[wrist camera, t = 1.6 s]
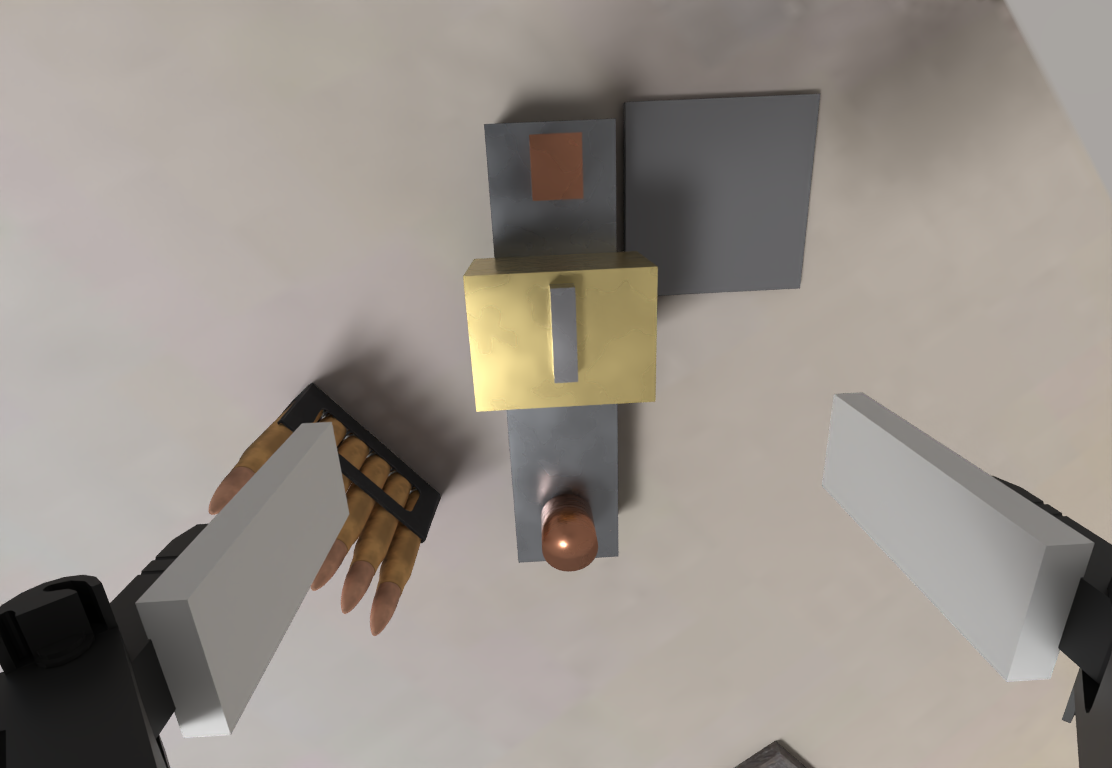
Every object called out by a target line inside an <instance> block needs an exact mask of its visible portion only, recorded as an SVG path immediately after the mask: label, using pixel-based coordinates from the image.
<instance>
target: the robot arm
mask: <svg viewBox="0 0 1112 768" xmlns="http://www.w3.org/2000/svg"><path fill="white" fill-rule="evenodd" d="M822 487H823V488H824V489H825V490H826V491H827V492H828V493H829V494H830V495H831V496H832V497H833V498H834V499H835V500H836V501H837V503H838V504H839V505H840V506H841V507H842V508H843V509H844V510H845V511H846V512H847V513H848V514H849V515H850V516H851V517H852V518H853V519H854V521H855V522H856V523H857V524H858V525H859V526H860V527H861V528H862V529H863V530H864V531H865V532H866V533H867V534H868V535H869V536H870V538H871V539H872V540H873V541H874V542H875V543H876V544H877V545H878V546H879V547H880V548H881V549H882V550H883V551H884V552H885V553H886V554H887V556H888V557H889V558H890V559H891V560H892V561H893V562H894V563H895V564H896V565H897V566H898V567H899V568H900V569H901V570H902V571H903V573H904V574H905V575H906V576H907V577H908V578H909V579H910V580H911V581H912V582H913V583H914V584H915V585H916V586H917V587H918V588H919V589H920V591H921V592H922V593H923V594H924V595H925V596H926V597H927V598H928V599H929V600H930V601H931V602H932V603H933V604H934V605H935V606H936V608H937V609H938V610H939V611H940V612H941V613H942V614H943V615H944V616H945V617H946V618H947V619H948V620H949V621H950V622H951V623H952V624H953V626H954V627H955V628H956V629H957V630H958V631H959V632H960V633H961V634H962V635H963V636H964V637H965V638H966V639H967V640H968V641H969V643H970V644H971V645H972V646H973V647H974V648H975V649H976V650H977V651H978V652H979V653H980V654H981V655H982V656H983V657H984V658H985V659H986V661H987V662H988V663H989V664H990V665H991V666H992V667H993V668H994V669H995V670H996V671H997V672H998V673H999V674H1000V675H1001V676H1002V678H1003V679H1004V680H1005V681H1006V682H1012V681H1027V680H1041V679H1050V678H1051V675H1052V672H1053V669H1054V666H1055V663H1056V660H1057V657H1058V654H1059V651H1060V650H1061V651H1062V652H1063V653H1064V654H1065V655H1067V656H1068V657H1069V658H1070V659H1071V660H1072V661H1073V662H1074V663H1076V664H1077V665H1078V666H1079V667H1080V669H1079V672H1078V675H1077V677H1076V680H1075V683H1074V686H1073V689H1072V692H1071V695H1070V698H1069V701H1068V703H1067V706H1066V709H1065V712H1064V715H1063V718H1062V720H1063V721H1066V722H1068V723H1071V721H1072V719H1073V717H1074V715H1076V727H1077V741H1078V756H1079V768H1112V545H1111V544H1110V543H1108V542H1107V541H1105V540H1104V539H1102V538H1100V537H1099V536H1097V535H1096V534H1094V533H1092V532H1091V531H1089V530H1088V529H1086V528H1085V527H1083V526H1081V525H1080V524H1078V523H1077V522H1075V521H1073V520H1072V519H1070V518H1069V517H1067V516H1062V513H1061V512H1059V511H1058V510H1056V509H1054V508H1053V507H1051V506H1050V505H1048V504H1044V503H1043V501H1042V500H1040V499H1039V498H1037V497H1036V496H1034V495H1032V494H1031V493H1029V492H1028V491H1026V490H1024V489H1023V488H1021V487H1019V486H1017V485H1014V484H1012V483H1009V482H1007V481H1004V480H1002V479H999V478H997V477H994V476H991V475H989V474H988V473H986V472H984V471H983V470H981V469H980V468H978V467H977V466H975V465H974V464H972V463H971V462H969V461H968V460H966V459H964V458H963V457H961V456H960V455H958V454H957V453H955V452H954V451H952V450H951V449H949V448H947V447H946V446H944V445H943V444H941V443H940V442H938V441H937V440H935V439H934V438H932V437H931V436H929V435H927V434H926V433H924V432H923V431H921V430H920V429H918V428H917V427H915V426H914V425H912V424H910V423H909V422H907V421H906V420H904V419H903V418H901V417H900V416H898V415H897V414H895V413H894V412H892V411H890V410H889V409H887V408H886V407H884V406H883V405H881V404H880V403H878V402H877V401H875V400H873V399H872V398H870V397H869V396H867V395H866V394H864V393H863V392H861V393H843V394H834V397H833V405H832V413H831V420H830V428H829V436H828V443H827V451H826V459H825V466H824V474H823V482H822ZM348 516H349V509H348V504H347V499H346V493H345V488H344V483H343V478H342V472H341V467H340V462H339V457H338V451H337V446H336V441H335V436H334V430H333V425H332V422H319V423H302V424H301V425H300V426H299V427H298V428H297V429H296V430H295V431H294V432H293V434H292V435H291V436H290V437H289V438H288V439H287V440H286V441H285V442H284V443H283V444H282V445H281V446H280V448H279V449H278V450H277V451H276V452H275V453H274V454H273V455H272V456H271V457H270V458H269V459H268V460H267V462H266V463H265V464H264V465H263V466H262V467H261V468H260V469H259V470H258V471H257V472H256V473H255V474H254V476H253V477H252V478H251V479H250V480H249V481H248V482H247V483H246V484H245V485H244V486H243V487H242V488H241V490H240V491H239V492H238V493H237V494H236V495H235V496H234V497H233V498H232V499H231V500H230V501H229V502H228V504H227V505H226V506H225V507H224V508H223V509H222V510H221V511H220V512H219V513H218V514H217V515H216V516H215V518H214V519H213V520H212V521H211V522H210V523H209V524H197V525H196V526H194V527H192V528H191V529H189V530H188V531H186V532H184V533H183V534H181V535H180V536H178V537H176V538H175V539H173V540H172V541H171V542H170V543H169V544H168V545H167V546H166V547H165V548H164V549H163V550H162V551H161V552H160V553H159V554H158V555H157V556H156V559H155V560H153V561H151V562H150V563H149V564H148V565H147V566H146V567H145V568H144V569H143V570H142V571H141V572H142V573H141V575H137V576H136V577H135V578H134V579H133V580H132V581H131V582H130V583H129V584H128V585H127V586H126V588H125V589H124V590H123V591H122V592H121V593H120V594H119V595H118V596H117V597H116V598H115V599H114V600H113V601H112V602H111V603H109V601H108V598H107V595H106V593H105V590H104V588H103V585H102V583H101V582H100V581H99V580H98V579H97V578H96V577H94V576H87V575H77V576H69V577H63V578H60V579H56V580H53V581H50V582H46V583H43V584H41V585H38V586H36V587H34V588H32V589H29V590H27V591H25V592H23V593H21V594H19V595H17V596H16V597H14V598H13V599H11V600H9V601H8V602H6V603H5V604H3V605H2V606H0V665H1V667H2V669H3V671H4V672H1V673H0V768H170V765H169V762H168V759H167V755H166V752H165V749H164V746H163V743H162V741H161V738H160V735H159V734H160V732H161V731H162V729H163V728H164V726H165V725H166V723H167V722H168V720H169V719H170V717H171V716H172V714H173V713H174V712H175V715H176V718H177V721H178V723H179V726H180V729H181V732H182V735H183V737H184V738H192V737H207V736H222V735H231V733H232V731H233V730H234V728H235V726H236V724H237V722H238V720H239V718H240V717H241V715H242V713H243V711H244V709H245V707H246V705H247V704H248V702H249V700H250V698H251V696H252V694H253V692H254V691H255V689H256V687H257V685H258V683H259V681H260V679H261V678H262V676H263V674H264V672H265V670H266V668H267V666H268V665H269V663H270V661H271V659H272V657H273V655H274V653H275V652H276V650H277V648H278V646H279V644H280V642H281V640H282V639H283V637H284V635H285V633H286V631H287V629H288V627H289V626H290V624H291V622H292V620H293V618H294V616H295V614H296V612H297V611H298V609H299V607H300V605H301V603H302V601H303V599H304V598H305V596H306V594H307V592H308V590H309V588H310V586H311V585H312V583H313V581H314V579H315V577H316V575H317V573H318V572H319V570H320V568H321V566H322V564H323V562H324V560H325V559H326V557H327V555H328V553H329V551H330V549H331V547H332V546H333V544H334V542H335V540H336V538H337V536H338V534H339V533H340V531H341V529H342V527H343V525H344V523H345V521H346V520H347V518H348Z"/></svg>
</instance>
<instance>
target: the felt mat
mask: <svg viewBox="0 0 1112 768" xmlns="http://www.w3.org/2000/svg"><path fill="white" fill-rule="evenodd" d="M819 101H820V94H803V95H780V96H756V97H733V98H709V99H686V100H662V101H639V102H625V103H624V252H628V251H637V252H639V253H640V254H641V255H643V256H644V257H645V258H647V259H648V260H650V261H651V262H652V263H654V264H655V265H656V266H658V283H657V296H660V295H679V294H699V293H718V292H738V291H757V290H777V289H796V288H800V282H801V273H802V263H803V254H804V244H805V235H806V225H807V216H808V206H809V196H810V187H811V177H812V168H813V158H814V149H815V139H816V130H817V120H818V111H819Z"/></svg>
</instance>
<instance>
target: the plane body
mask: <svg viewBox="0 0 1112 768" xmlns="http://www.w3.org/2000/svg"><path fill="white" fill-rule="evenodd" d="M484 129H485V142H486V154H487V167H488V180H489V193H490V205H491V218H492V231H493V243H494V256H495V258H506V257H526V256H547V255H567V254H587V253H608V252H616V119H594V120H571V121H548V122H525V123H502V124H484ZM507 421H508V434H509V447H510V460H511V472H512V485H513V498H514V511H515V523H516V536H517V549H518V561H519V563H520V562H536V561H547V562H548V564H550V565H551V566H552V567H554V568H556V569H558V570H562V571H576V570H580V569H582V568H585V567H586V566H588V565H589V564H590V563H591V562H592V561H593V560H594V559H595V558H599V557H615V556H618V424H617V404H602V405H584V406H566V407H548V408H531V409H513V410H507Z"/></svg>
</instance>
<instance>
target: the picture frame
mask: <svg viewBox="0 0 1112 768" xmlns="http://www.w3.org/2000/svg"><path fill="white" fill-rule="evenodd" d="M735 768H806V767H805V766H804V765H802V764H801V763H800V762H799V761H798V760H797V759H795V758H794V757H793V756H792V755H791V754H790V753H788V752H787V751H786V750H785V749H784V748H783V747H781V746H780V745H779V744H778V743H777V742H776V741H774V742H773V743H771V744H770V745H768V746H767V747H765V748H764V749H762V750H761V751H759V752H757V753H756V754H754V755H753V756H751V757H750V758H748V759H747V760H745V761H744V762H742V763H741V764H739V765H738V766H736V767H735Z"/></svg>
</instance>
